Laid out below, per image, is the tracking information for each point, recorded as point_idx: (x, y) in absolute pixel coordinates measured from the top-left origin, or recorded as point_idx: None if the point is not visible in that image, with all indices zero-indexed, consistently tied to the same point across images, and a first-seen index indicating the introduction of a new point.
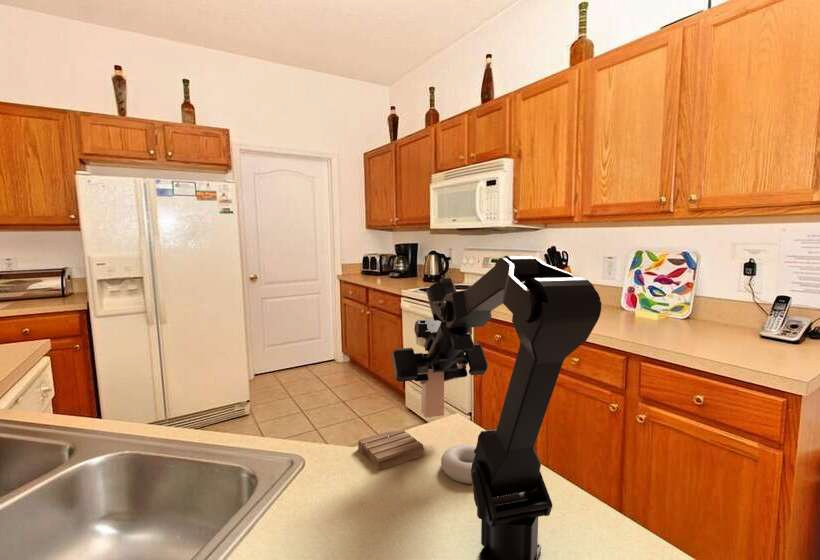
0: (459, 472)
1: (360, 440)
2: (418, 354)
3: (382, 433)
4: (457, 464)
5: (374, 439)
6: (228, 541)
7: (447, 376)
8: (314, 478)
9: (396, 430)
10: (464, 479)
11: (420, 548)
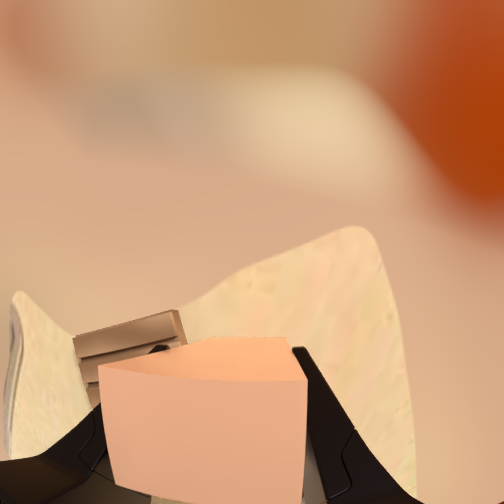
0: None
1: (75, 342)
2: (3, 496)
3: (119, 327)
4: None
5: (99, 350)
6: (4, 447)
7: (304, 487)
8: (35, 394)
9: (154, 322)
10: None
11: None
